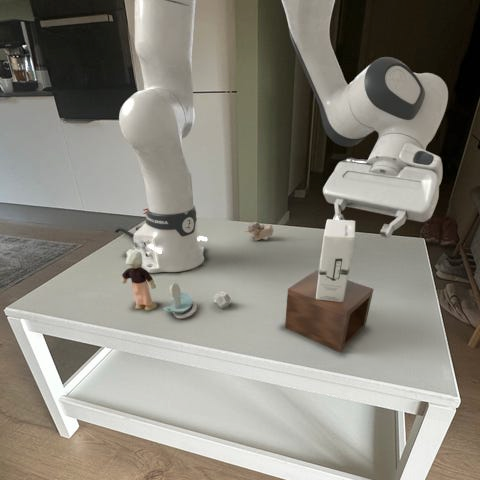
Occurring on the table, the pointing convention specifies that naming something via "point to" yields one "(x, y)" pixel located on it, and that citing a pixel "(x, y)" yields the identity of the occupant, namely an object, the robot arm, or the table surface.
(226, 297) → the game die
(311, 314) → the shelf
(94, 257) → the table surface
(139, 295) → the grandmother figurine
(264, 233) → the toy character
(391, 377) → the table surface
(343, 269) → the ink box
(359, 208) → the robot arm
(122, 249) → the table surface
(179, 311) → the pacifier
